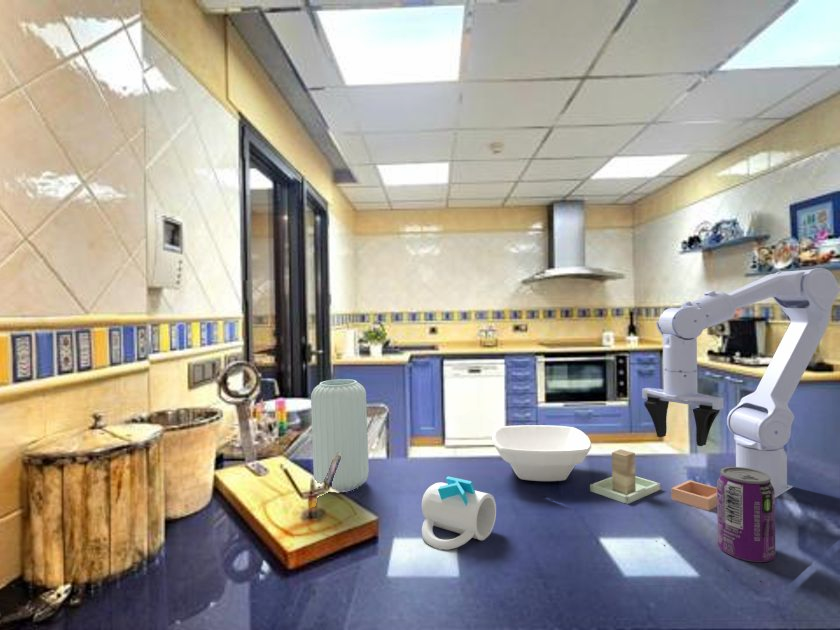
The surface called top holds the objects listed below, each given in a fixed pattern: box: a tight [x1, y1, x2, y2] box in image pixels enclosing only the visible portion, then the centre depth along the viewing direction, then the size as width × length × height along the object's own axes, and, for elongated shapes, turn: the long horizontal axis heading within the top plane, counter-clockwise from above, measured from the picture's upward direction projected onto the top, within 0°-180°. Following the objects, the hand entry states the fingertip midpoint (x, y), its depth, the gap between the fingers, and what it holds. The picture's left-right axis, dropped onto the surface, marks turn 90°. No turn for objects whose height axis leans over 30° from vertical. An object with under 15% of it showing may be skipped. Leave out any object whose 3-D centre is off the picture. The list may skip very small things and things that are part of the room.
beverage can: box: [716, 466, 776, 563], centre depth 72 cm, size 7×7×12 cm
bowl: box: [491, 424, 592, 482], centre depth 107 cm, size 21×21×9 cm
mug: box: [421, 476, 497, 551], centre depth 82 cm, size 12×9×12 cm
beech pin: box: [611, 448, 636, 495], centre depth 96 cm, size 3×3×8 cm
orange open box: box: [670, 479, 717, 512], centre depth 91 cm, size 7×7×3 cm
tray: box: [589, 475, 661, 505], centre depth 96 cm, size 11×8×2 cm
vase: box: [310, 378, 370, 491], centre depth 104 cm, size 12×12×22 cm
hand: (680, 440), depth 95 cm, fingers open, 7 cm apart
